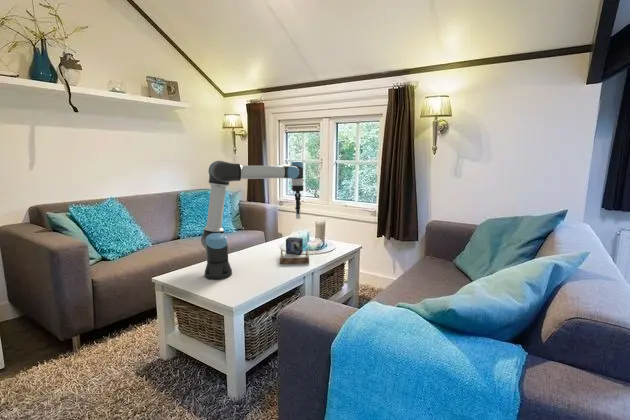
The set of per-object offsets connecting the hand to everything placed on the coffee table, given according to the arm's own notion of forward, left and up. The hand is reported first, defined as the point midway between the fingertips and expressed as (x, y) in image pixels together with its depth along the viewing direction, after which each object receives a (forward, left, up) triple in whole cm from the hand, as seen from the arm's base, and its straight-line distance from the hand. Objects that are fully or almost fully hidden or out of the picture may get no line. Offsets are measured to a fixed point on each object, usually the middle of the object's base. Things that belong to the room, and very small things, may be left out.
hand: (298, 216), depth 227 cm
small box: (-3, +4, -27) cm, 27 cm away
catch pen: (-3, -9, -27) cm, 28 cm away
